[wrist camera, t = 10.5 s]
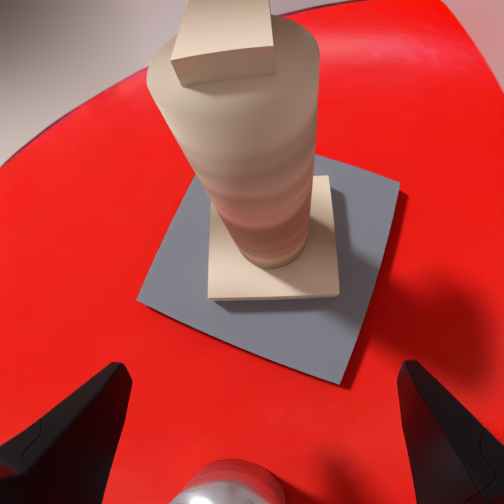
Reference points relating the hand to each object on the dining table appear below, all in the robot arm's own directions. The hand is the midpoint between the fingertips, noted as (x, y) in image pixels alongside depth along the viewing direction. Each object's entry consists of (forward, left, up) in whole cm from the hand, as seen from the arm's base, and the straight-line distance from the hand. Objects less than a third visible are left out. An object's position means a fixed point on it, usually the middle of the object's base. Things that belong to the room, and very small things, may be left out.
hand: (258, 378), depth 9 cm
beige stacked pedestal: (+3, -7, -8) cm, 11 cm away
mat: (+3, -7, -9) cm, 11 cm away
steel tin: (-1, +9, -9) cm, 13 cm away
